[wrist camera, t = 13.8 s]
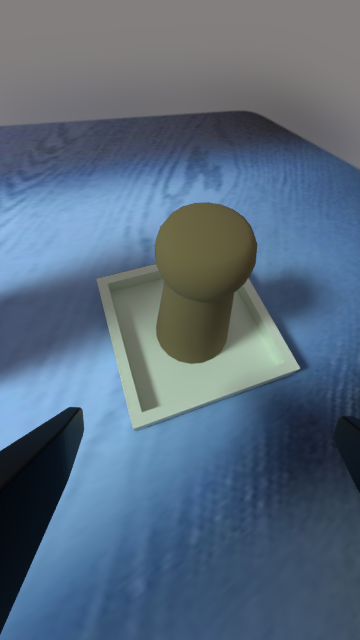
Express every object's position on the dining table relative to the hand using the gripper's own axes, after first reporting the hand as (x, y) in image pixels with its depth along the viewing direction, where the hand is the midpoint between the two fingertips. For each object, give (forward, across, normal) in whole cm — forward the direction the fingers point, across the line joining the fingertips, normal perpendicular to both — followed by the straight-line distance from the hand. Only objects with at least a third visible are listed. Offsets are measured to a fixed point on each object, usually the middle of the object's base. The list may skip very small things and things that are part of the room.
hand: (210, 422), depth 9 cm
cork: (+13, 0, +1) cm, 13 cm away
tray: (+13, 0, +1) cm, 13 cm away
